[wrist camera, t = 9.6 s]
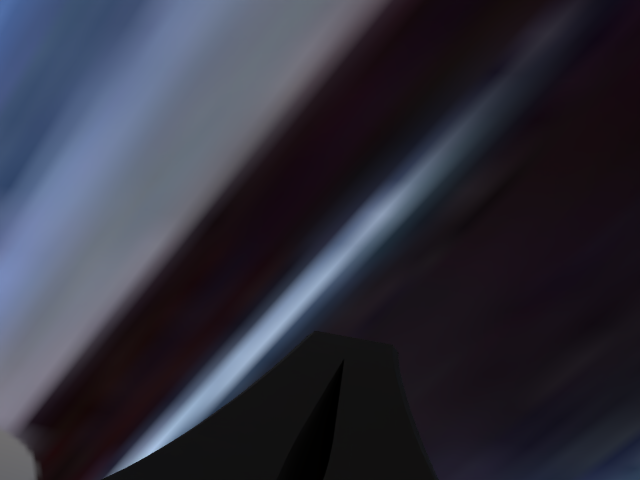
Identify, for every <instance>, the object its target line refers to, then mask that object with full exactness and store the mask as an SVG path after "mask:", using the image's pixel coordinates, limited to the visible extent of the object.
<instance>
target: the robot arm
mask: <svg viewBox="0 0 640 480" xmlns="http://www.w3.org/2000/svg"><path fill="white" fill-rule="evenodd" d="M102 480H438V477H437V475H436V473H435V471H434V469H433V466H432V464H431V462H430V460H429V457H428V455H427V453H426V450H425V448H424V445H423V443H422V441H421V438H420V435H419V432H418V430H417V427H416V424H415V421H414V419H413V416H412V413H411V410H410V407H409V404H408V401H407V398H406V394H405V390H404V386H403V383H402V378H401V374H400V368H399V360H398V352H397V350H396V349H395V348H394V346H393V345H390V344H385V343H379V342H374V341H368V340H363V339H357V338H352V337H346V336H341V335H335V334H330V333H324V332H319V331H314V332H313V333H311V334H310V335H308V336H307V337H306V338H305V339H304V340H303V341H302V342H301V343H300V344H299V345H297V346H296V347H295V348H294V349H293V350H292V351H291V352H290V353H289V354H288V355H287V356H285V357H284V358H283V359H282V360H281V361H280V362H279V363H277V364H276V365H275V366H274V367H273V368H272V369H271V370H269V371H268V372H267V373H266V374H264V375H263V376H262V377H261V378H260V379H258V380H257V381H256V382H255V383H253V384H252V385H251V386H250V387H248V388H247V389H246V390H245V391H244V392H242V393H241V394H240V395H238V396H237V397H236V398H234V399H233V400H232V401H230V402H229V403H228V404H226V405H225V406H223V407H222V408H221V409H219V410H218V411H216V412H215V413H214V414H212V415H211V416H209V417H208V418H207V419H205V420H204V421H202V422H201V423H200V424H198V425H197V426H195V427H194V428H192V429H191V430H189V431H188V432H186V433H185V434H183V435H181V436H180V437H178V438H177V439H175V440H174V441H172V442H170V443H169V444H167V445H165V446H164V447H162V448H160V449H159V450H157V451H155V452H154V453H152V454H150V455H148V456H147V457H145V458H143V459H141V460H140V461H138V462H136V463H134V464H132V465H130V466H129V467H127V468H125V469H123V470H121V471H119V472H116V473H114V474H112V475H110V476H108V477H106V478H104V479H102Z"/></svg>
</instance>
